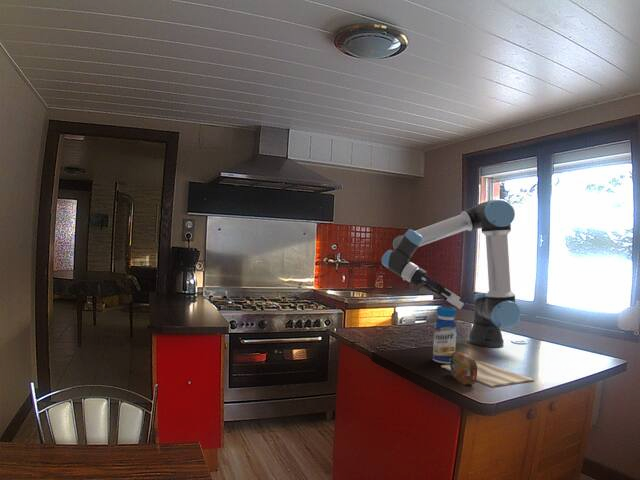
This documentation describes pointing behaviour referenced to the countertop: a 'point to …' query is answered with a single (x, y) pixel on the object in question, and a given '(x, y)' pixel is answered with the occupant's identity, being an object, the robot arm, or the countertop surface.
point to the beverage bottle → (444, 335)
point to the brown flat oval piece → (463, 368)
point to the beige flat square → (495, 375)
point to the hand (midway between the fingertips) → (460, 303)
